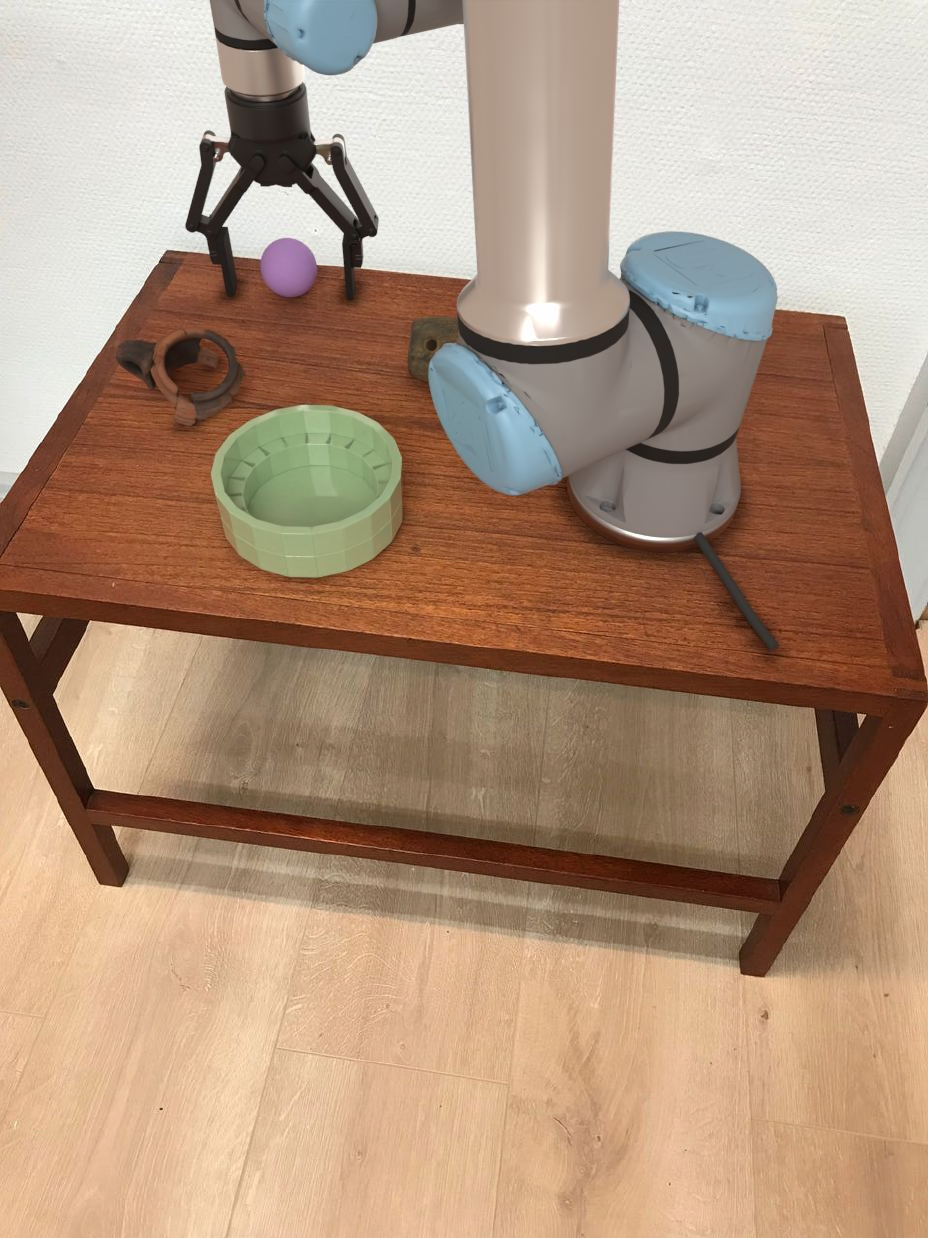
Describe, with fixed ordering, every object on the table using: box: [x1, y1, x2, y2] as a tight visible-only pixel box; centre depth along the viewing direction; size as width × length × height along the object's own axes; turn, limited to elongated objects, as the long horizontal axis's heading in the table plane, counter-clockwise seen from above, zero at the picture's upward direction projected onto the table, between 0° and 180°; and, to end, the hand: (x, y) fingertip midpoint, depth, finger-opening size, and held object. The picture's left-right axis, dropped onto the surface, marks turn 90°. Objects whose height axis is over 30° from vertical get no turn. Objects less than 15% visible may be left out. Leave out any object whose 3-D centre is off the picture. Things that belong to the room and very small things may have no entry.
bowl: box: [210, 404, 405, 579], centre depth 83 cm, size 16×16×6 cm
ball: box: [259, 237, 318, 298], centre depth 104 cm, size 6×6×6 cm
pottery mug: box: [114, 327, 247, 427], centre depth 93 cm, size 12×10×8 cm
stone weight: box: [407, 315, 459, 383], centre depth 95 cm, size 15×7×7 cm, turn 87°
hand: (291, 290), depth 107 cm, fingers open, 12 cm apart
